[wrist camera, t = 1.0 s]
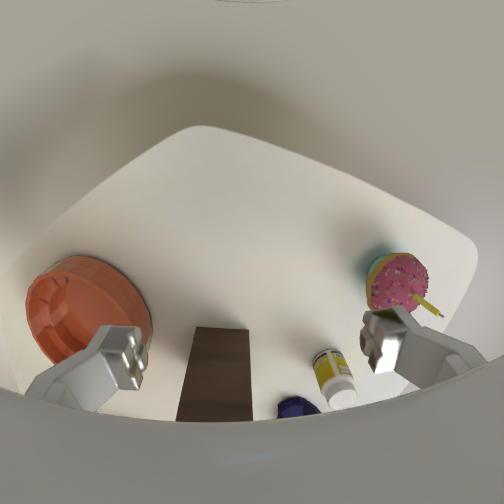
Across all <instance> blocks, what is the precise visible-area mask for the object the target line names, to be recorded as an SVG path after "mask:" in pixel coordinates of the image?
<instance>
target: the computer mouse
mask: <svg viewBox="0 0 504 504" xmlns="http://www.w3.org/2000/svg"><path fill="white" fill-rule="evenodd" d="M320 413H321V412H320V411H319V410H318V409H317V407H316V406H314V405H313V404H311V403H310V402H309V401H307V400H306V399H304V398H296V399H291V400H287V401H285V402H283V403H281V404H279V405H278V418H277V419H282V418H291V417H299V416H306V415H313V414H320Z"/></svg>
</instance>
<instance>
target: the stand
mask: <svg viewBox="0 0 504 504" xmlns="http://www.w3.org/2000/svg"><path fill="white" fill-rule="evenodd" d="M176 421H177V422H242V421H253V409H252V388H251V366H250V343H249V330H238V329H218V328H203V327H196V331H195V335H194V339H193V344H192V348H191V352H190V356H189V361H188V365H187V370H186V374H185V379H184V383H183V388H182V392H181V397H180V402H179V406H178V411H177V416H176Z"/></svg>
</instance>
